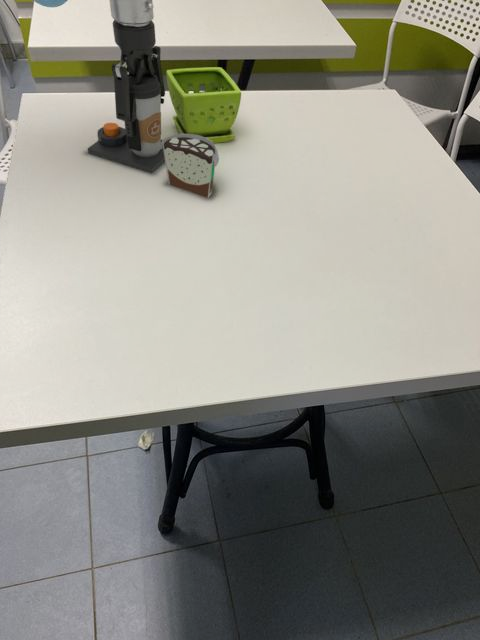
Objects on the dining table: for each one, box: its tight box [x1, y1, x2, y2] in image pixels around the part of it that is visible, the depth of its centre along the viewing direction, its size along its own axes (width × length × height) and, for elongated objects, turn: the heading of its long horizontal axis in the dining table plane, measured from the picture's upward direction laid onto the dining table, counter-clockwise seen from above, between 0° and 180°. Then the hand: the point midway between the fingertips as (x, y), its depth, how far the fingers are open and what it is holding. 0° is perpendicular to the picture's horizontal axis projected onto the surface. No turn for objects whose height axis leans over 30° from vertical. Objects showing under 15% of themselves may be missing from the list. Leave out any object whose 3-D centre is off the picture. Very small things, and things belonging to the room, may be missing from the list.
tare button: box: [102, 122, 120, 136], centre depth 109 cm, size 3×3×2 cm
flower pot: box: [166, 66, 242, 144], centre depth 114 cm, size 14×14×13 cm
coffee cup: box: [129, 74, 162, 157], centre depth 103 cm, size 8×8×15 cm
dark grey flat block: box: [87, 125, 166, 174], centre depth 110 cm, size 17×12×4 cm
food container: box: [161, 133, 220, 199], centre depth 101 cm, size 12×6×10 cm, turn 65°
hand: (145, 140), depth 107 cm, fingers closed on coffee cup, 8 cm apart
